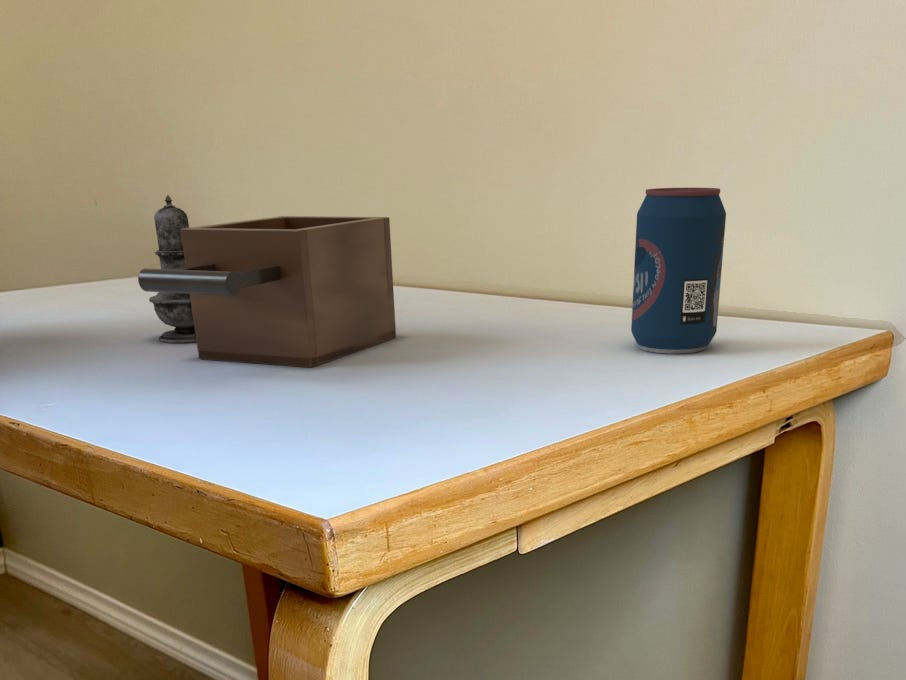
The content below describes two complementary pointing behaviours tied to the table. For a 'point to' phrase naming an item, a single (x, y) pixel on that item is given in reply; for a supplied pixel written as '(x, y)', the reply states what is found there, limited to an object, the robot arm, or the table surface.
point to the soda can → (677, 269)
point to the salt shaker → (171, 254)
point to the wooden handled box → (285, 288)
